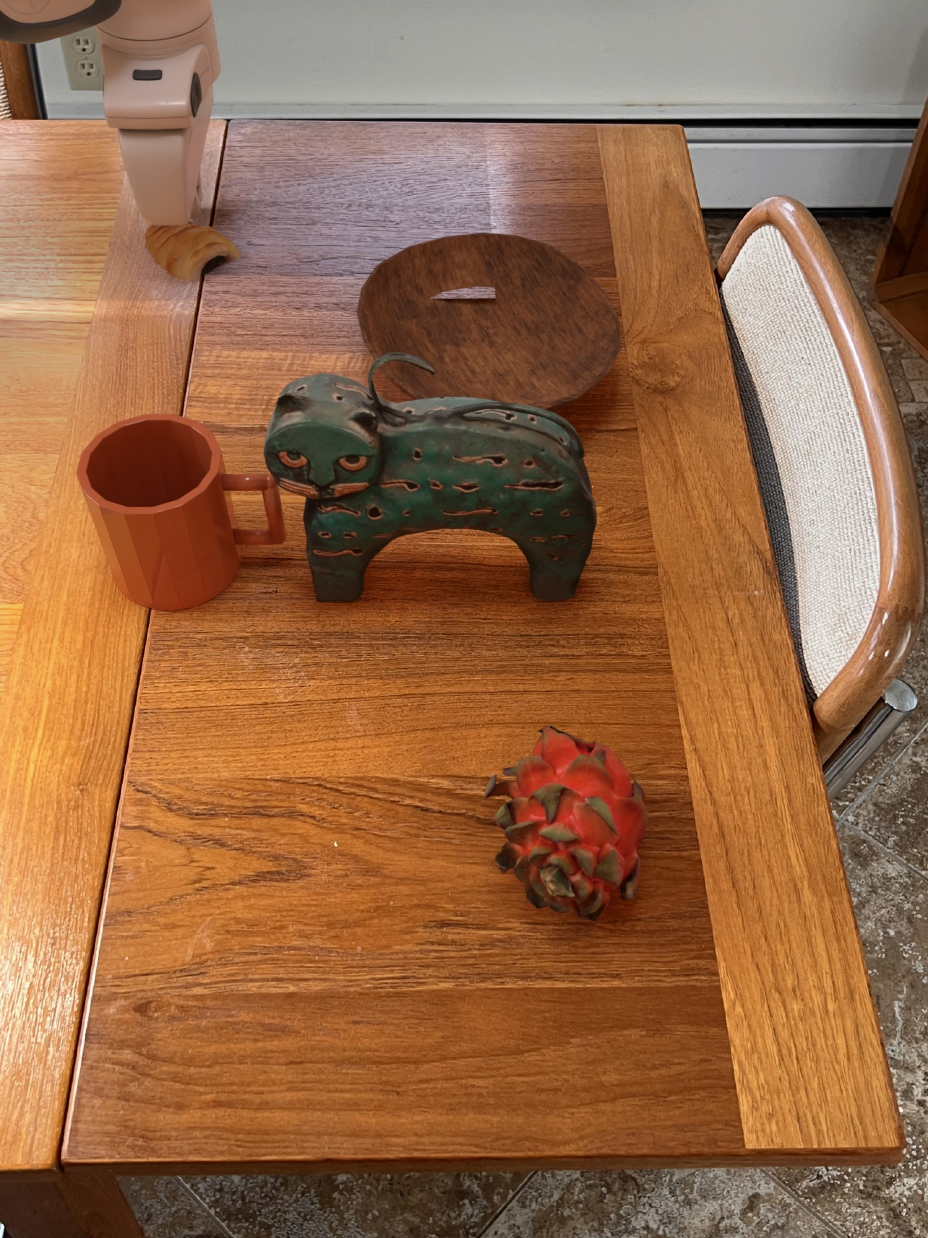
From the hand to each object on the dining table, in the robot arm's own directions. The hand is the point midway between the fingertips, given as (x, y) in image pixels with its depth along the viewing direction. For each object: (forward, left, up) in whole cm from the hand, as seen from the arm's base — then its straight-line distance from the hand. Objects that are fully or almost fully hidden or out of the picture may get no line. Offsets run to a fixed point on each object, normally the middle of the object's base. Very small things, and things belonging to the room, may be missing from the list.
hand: (191, 209), depth 100 cm
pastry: (0, -5, -3) cm, 6 cm away
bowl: (+25, -18, -3) cm, 31 cm away
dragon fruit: (+28, -60, -3) cm, 66 cm away
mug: (+5, -38, -3) cm, 38 cm away
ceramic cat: (+21, -40, -3) cm, 45 cm away
